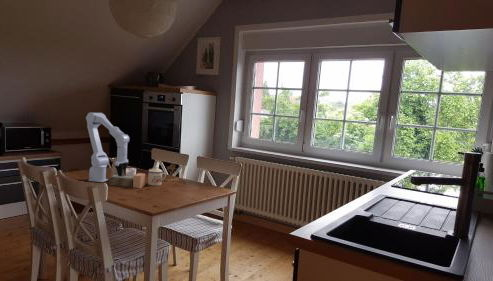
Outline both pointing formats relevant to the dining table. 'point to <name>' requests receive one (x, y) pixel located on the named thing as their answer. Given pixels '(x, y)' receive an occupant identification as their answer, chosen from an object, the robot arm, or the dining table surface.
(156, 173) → the teacup with lid
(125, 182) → the guide channel
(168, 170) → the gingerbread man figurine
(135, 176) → the tan square block
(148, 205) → the dining table surface
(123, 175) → the slide bar
